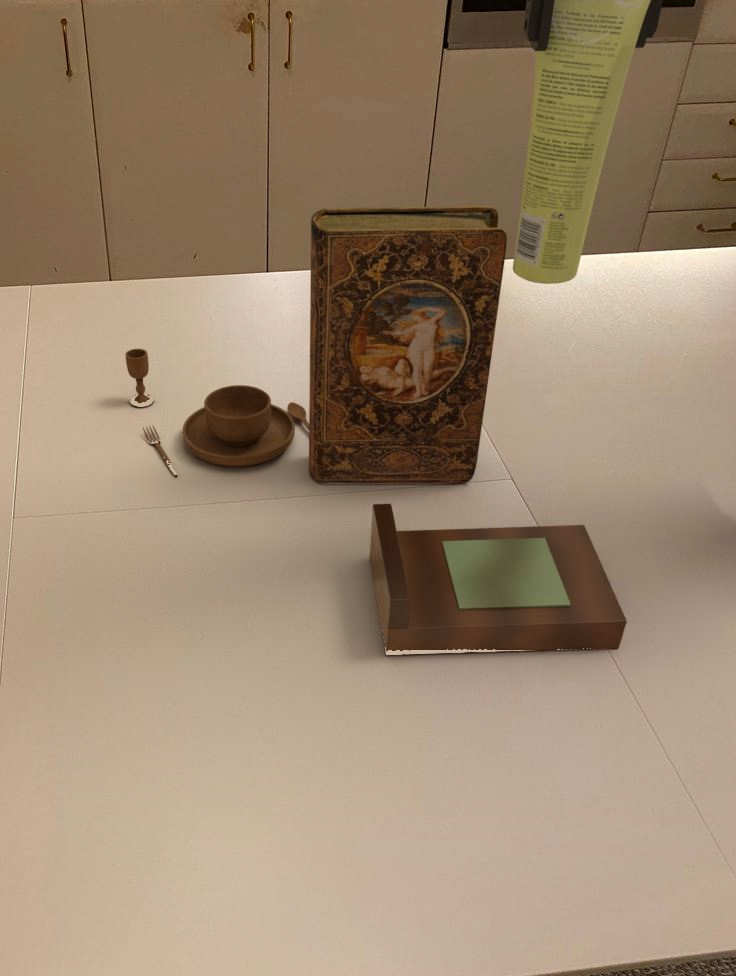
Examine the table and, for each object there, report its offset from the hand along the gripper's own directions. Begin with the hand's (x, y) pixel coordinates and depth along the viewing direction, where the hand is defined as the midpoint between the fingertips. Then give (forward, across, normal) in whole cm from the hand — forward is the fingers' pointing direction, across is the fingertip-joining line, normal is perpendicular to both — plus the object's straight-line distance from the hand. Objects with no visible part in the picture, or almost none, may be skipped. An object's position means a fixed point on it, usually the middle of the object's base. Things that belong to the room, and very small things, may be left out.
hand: (586, 46), depth 66 cm
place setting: (+40, -27, +20) cm, 52 cm away
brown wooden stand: (+40, -4, -11) cm, 41 cm away
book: (+40, -10, +10) cm, 42 cm away
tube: (+16, 0, 0) cm, 16 cm away
